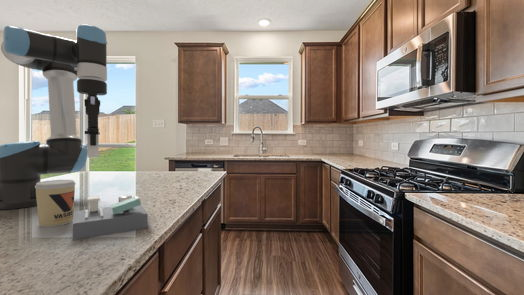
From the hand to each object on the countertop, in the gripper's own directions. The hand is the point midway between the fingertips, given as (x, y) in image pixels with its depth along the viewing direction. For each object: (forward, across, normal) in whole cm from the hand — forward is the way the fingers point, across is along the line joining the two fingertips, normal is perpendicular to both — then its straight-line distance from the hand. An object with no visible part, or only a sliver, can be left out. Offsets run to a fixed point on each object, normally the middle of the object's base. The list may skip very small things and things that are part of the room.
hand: (93, 156), depth 80 cm
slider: (+15, +6, 0) cm, 16 cm away
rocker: (+13, +12, +8) cm, 20 cm away
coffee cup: (+20, -2, -9) cm, 22 cm away
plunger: (+15, +6, +8) cm, 18 cm away
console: (+19, +10, +4) cm, 22 cm away
